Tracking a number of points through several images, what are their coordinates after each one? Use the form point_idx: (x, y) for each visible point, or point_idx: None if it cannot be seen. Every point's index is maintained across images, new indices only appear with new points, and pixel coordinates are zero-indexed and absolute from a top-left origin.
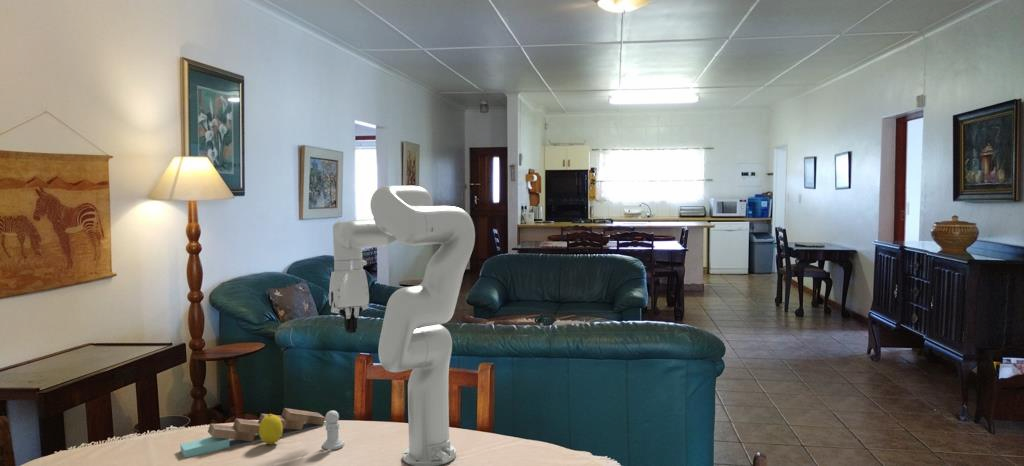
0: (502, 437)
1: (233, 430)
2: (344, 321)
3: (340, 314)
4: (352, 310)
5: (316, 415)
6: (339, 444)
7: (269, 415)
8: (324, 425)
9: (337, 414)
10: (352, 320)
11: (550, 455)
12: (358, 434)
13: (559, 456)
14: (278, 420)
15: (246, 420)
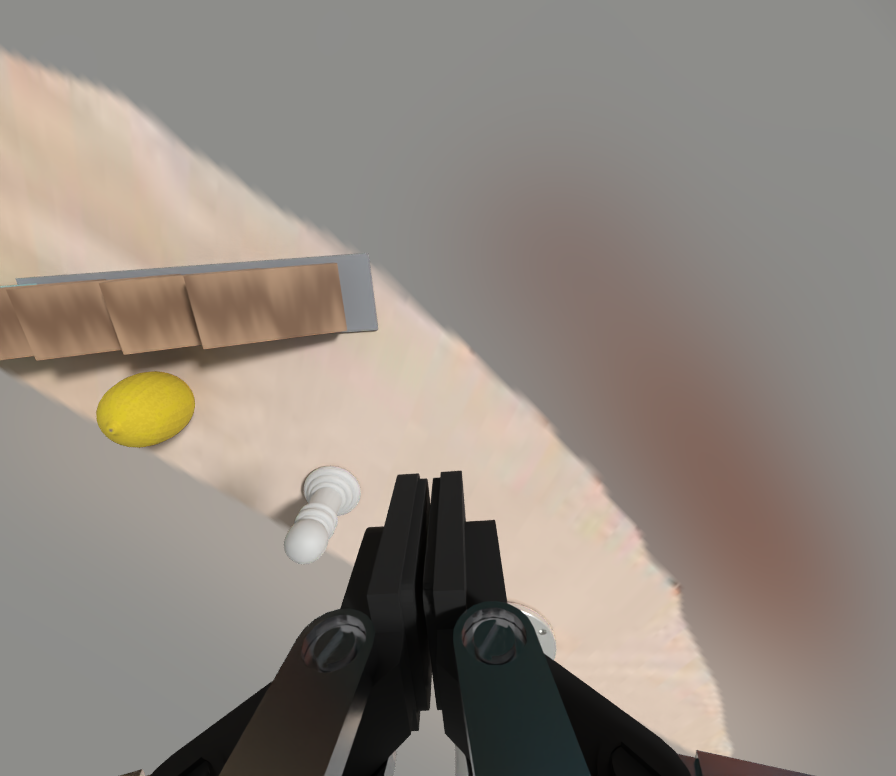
0: (685, 643)
1: (29, 349)
2: (345, 596)
3: (230, 725)
4: (493, 755)
5: (316, 319)
6: (341, 514)
7: (109, 433)
8: (348, 331)
9: (317, 558)
10: (427, 696)
11: (683, 738)
12: (416, 450)
13: (691, 747)
14: (152, 439)
15: (56, 298)
